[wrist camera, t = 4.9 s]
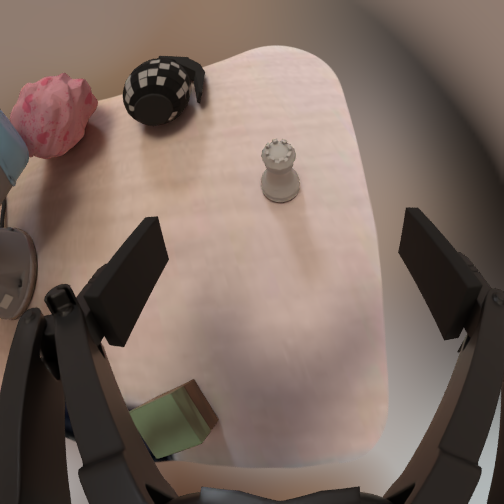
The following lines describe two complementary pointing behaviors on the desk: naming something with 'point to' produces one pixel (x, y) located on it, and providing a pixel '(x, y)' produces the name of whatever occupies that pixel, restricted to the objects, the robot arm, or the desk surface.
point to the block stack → (175, 420)
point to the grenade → (162, 89)
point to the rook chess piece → (279, 171)
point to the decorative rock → (53, 114)
